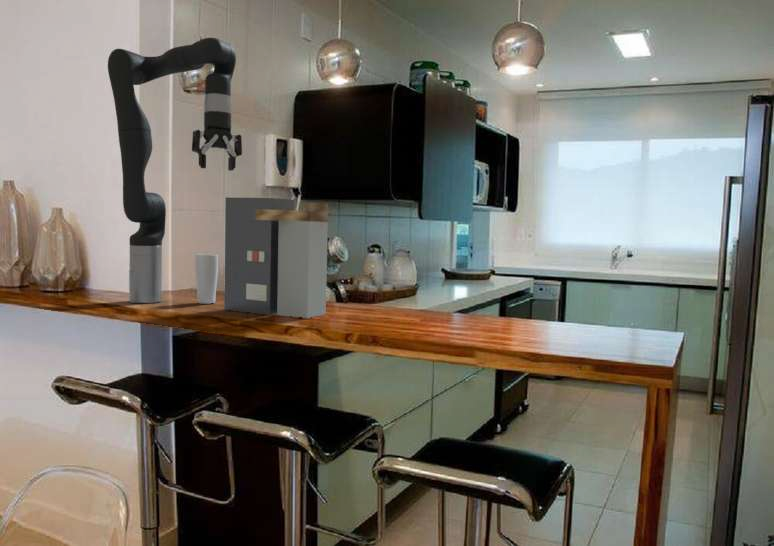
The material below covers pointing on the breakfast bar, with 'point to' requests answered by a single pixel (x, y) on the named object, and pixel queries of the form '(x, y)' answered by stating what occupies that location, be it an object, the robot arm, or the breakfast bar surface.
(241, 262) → the switch cabinet
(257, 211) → the oak bar
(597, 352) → the breakfast bar surface
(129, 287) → the robot arm
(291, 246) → the grey tall block
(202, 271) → the drinking glass
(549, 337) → the breakfast bar surface
